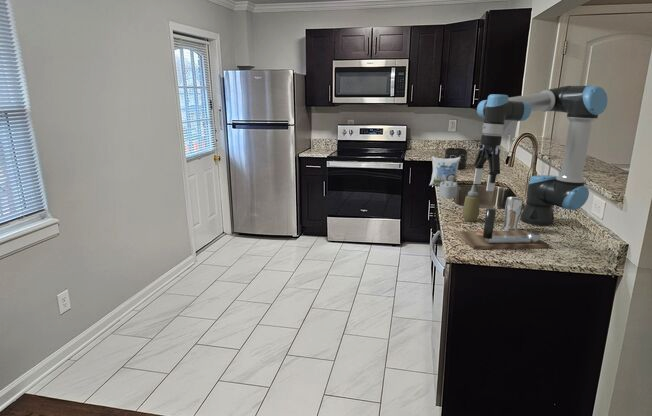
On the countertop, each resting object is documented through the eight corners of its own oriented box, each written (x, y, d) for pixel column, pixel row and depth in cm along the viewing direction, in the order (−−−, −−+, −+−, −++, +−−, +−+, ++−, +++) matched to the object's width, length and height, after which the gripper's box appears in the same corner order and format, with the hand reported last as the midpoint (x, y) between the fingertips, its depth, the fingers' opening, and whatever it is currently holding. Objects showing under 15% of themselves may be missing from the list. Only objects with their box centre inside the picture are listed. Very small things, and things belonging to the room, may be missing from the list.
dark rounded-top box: (460, 171, 335) (462, 151, 331) (439, 168, 347) (441, 149, 343) (470, 168, 348) (472, 149, 344) (450, 165, 360) (452, 147, 355)
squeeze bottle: (465, 216, 214) (469, 182, 209) (480, 220, 209) (485, 184, 204) (458, 220, 208) (462, 184, 203) (474, 223, 203) (479, 187, 198)
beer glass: (498, 228, 197) (503, 197, 193) (510, 226, 199) (514, 196, 195) (510, 232, 191) (514, 200, 187) (521, 231, 193) (526, 199, 189)
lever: (535, 238, 178) (540, 207, 174) (542, 243, 173) (547, 210, 169) (480, 239, 176) (484, 207, 172) (485, 244, 171) (489, 211, 167)
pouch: (428, 184, 287) (430, 155, 281) (456, 185, 285) (459, 155, 280) (430, 186, 279) (432, 156, 273) (459, 187, 278) (462, 157, 272)
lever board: (522, 232, 192) (523, 228, 191) (548, 247, 173) (549, 244, 172) (455, 233, 189) (455, 229, 189) (473, 249, 170) (474, 245, 170)
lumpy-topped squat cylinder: (457, 194, 260) (458, 180, 258) (455, 199, 248) (457, 184, 246) (439, 192, 264) (441, 179, 261) (437, 197, 252) (439, 183, 249)
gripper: (471, 131, 177) (463, 180, 183) (495, 137, 153) (486, 193, 159) (488, 132, 178) (480, 181, 183) (515, 138, 154) (505, 194, 159)
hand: (483, 187), depth 171 cm, fingers open, 13 cm apart
